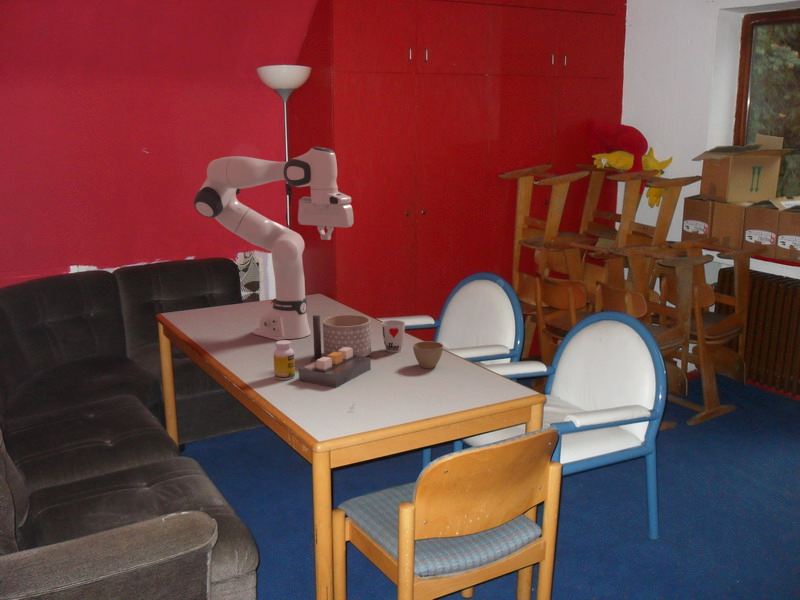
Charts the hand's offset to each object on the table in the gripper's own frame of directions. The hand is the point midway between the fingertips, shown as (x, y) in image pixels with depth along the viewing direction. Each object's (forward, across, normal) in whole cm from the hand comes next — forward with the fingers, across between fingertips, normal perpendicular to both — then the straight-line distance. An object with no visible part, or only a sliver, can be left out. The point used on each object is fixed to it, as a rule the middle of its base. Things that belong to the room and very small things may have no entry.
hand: (325, 239), depth 250 cm
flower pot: (+41, +34, +8) cm, 54 cm away
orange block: (+37, +12, -14) cm, 41 cm away
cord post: (+41, -1, -5) cm, 41 cm away
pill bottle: (+41, -1, -23) cm, 48 cm away
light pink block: (+37, +12, -20) cm, 44 cm away
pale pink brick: (+37, +12, -8) cm, 40 cm away
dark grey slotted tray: (+41, +12, -14) cm, 45 cm away
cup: (+41, +15, +18) cm, 47 cm away
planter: (+41, +4, +5) cm, 42 cm away
